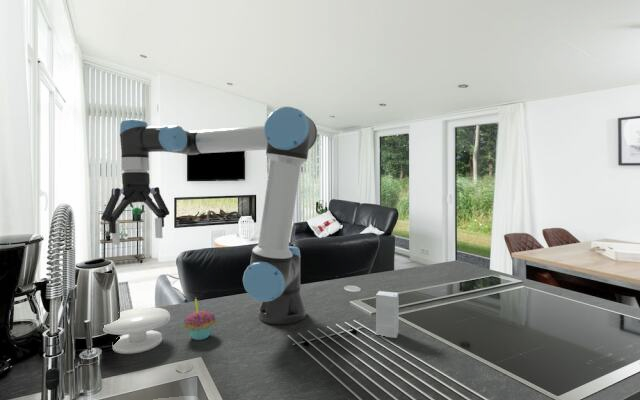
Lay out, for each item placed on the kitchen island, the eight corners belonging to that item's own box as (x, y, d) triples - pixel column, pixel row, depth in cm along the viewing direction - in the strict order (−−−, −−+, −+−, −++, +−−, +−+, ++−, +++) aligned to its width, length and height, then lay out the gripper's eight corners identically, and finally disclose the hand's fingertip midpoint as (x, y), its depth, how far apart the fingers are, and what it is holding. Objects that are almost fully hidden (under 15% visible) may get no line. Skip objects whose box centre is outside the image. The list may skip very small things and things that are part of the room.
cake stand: (182, 333, 107) (182, 309, 107) (143, 361, 91) (143, 332, 91) (133, 328, 111) (132, 305, 110) (87, 354, 95) (86, 326, 94)
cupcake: (206, 344, 101) (205, 300, 100) (178, 341, 102) (177, 298, 102) (220, 331, 109) (220, 291, 108) (194, 329, 111) (193, 289, 110)
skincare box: (398, 332, 108) (399, 292, 107) (396, 338, 104) (397, 296, 103) (377, 330, 110) (378, 290, 109) (375, 335, 106) (375, 294, 105)
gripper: (165, 172, 126) (167, 234, 127) (85, 171, 105) (89, 246, 106) (179, 172, 121) (181, 236, 123) (98, 171, 101) (102, 248, 102)
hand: (138, 241), depth 114 cm, fingers open, 13 cm apart
